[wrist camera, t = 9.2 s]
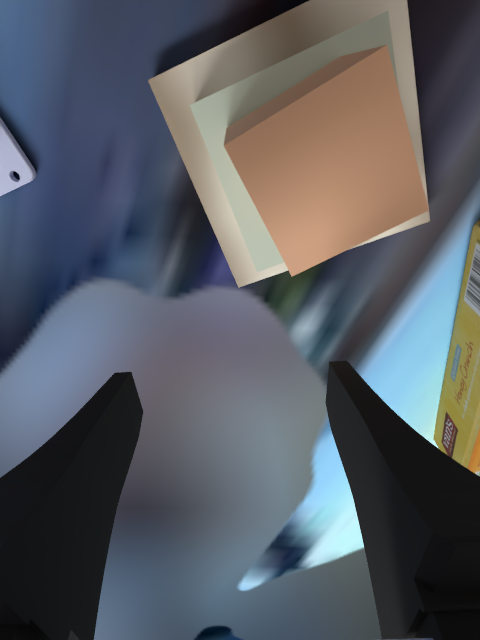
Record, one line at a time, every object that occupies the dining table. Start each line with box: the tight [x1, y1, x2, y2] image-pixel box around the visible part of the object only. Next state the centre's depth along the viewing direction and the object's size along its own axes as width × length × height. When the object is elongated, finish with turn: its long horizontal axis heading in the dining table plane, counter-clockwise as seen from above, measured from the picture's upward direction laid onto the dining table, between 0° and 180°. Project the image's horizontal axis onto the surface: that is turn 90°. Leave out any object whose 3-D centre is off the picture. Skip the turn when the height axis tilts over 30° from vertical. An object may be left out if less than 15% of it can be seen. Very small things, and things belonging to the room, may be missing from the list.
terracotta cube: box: [224, 45, 429, 276], centre depth 13 cm, size 5×5×5 cm
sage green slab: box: [190, 11, 399, 272], centre depth 17 cm, size 8×8×2 cm
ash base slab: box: [148, 0, 430, 287], centre depth 18 cm, size 11×11×2 cm
